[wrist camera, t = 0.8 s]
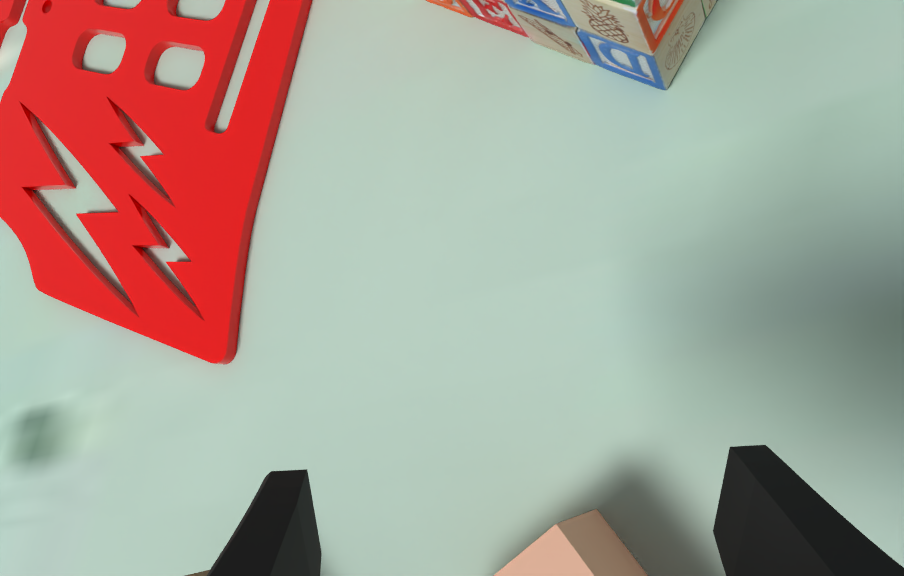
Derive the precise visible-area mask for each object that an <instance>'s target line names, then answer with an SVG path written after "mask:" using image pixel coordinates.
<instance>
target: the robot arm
mask: <svg viewBox="0 0 904 576" xmlns="http://www.w3.org/2000/svg"><path fill="white" fill-rule="evenodd" d="M713 533H714V536H715V540H716V543H717V546H718V550H719V553H720V557H721V560H722V564H723V567H724V570H725V573H726V576H904V568H903V567H902V566H901V565H899V564H898V563H897V562H896V561H894V560H893V559H892V558H891V557H889V556H888V555H887V554H886V553H885V552H884V551H882V550H881V549H880V548H879V547H878V546H876V545H875V544H874V543H873V542H872V541H870V540H869V539H868V538H867V537H866V536H865V535H863V534H862V533H861V532H860V531H859V530H858V529H857V528H855V527H854V526H853V525H852V524H851V523H850V522H849V521H847V520H846V519H845V518H844V517H843V516H842V515H841V514H840V513H839V512H837V511H836V510H835V509H834V508H833V507H832V506H831V505H830V504H829V503H827V502H826V501H825V500H824V499H823V498H822V497H821V496H820V495H819V494H818V493H817V492H816V491H814V490H813V489H812V488H811V487H810V486H809V485H808V484H807V483H806V482H805V481H804V480H803V479H802V478H800V477H799V476H798V475H797V474H796V473H795V472H794V471H793V470H792V469H791V468H790V467H789V466H788V465H787V464H786V463H784V462H783V461H782V460H781V459H780V458H779V457H778V456H777V455H776V454H775V453H774V452H773V451H771V450H770V449H769V448H768V447H767V446H766V445H756V446H738V447H730V449H729V454H728V459H727V464H726V469H725V474H724V479H723V484H722V489H721V494H720V499H719V504H718V509H717V514H716V519H715V524H714V529H713ZM320 567H321V548H320V542H319V536H318V530H317V524H316V519H315V513H314V507H313V501H312V495H311V489H310V484H309V478H308V472H307V470H290V471H271V472H270V473H269V474H268V475H267V476H266V477H265V479H264V480H263V482H262V484H261V486H260V488H259V490H258V492H257V494H256V496H255V497H254V499H253V501H252V503H251V505H250V506H249V508H248V510H247V512H246V513H245V515H244V517H243V519H242V520H241V522H240V524H239V525H238V527H237V528H236V530H235V532H234V533H233V535H232V537H231V538H230V540H229V542H228V543H227V545H226V546H225V548H224V549H223V551H222V552H221V554H220V556H219V557H218V559H217V560H216V562H215V563H214V565H213V566H212V568H211V569H210V571H209V573H208V574H207V576H320Z"/></svg>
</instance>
